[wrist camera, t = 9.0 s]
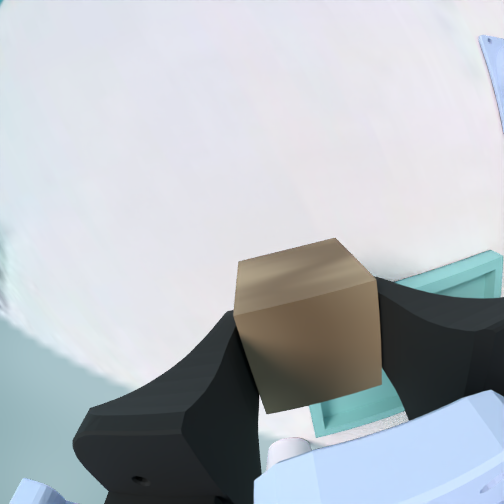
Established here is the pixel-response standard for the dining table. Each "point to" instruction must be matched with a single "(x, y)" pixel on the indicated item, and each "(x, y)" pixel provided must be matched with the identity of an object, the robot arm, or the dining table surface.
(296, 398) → the block
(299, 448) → the smoothie
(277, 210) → the dining table surface
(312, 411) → the tray
